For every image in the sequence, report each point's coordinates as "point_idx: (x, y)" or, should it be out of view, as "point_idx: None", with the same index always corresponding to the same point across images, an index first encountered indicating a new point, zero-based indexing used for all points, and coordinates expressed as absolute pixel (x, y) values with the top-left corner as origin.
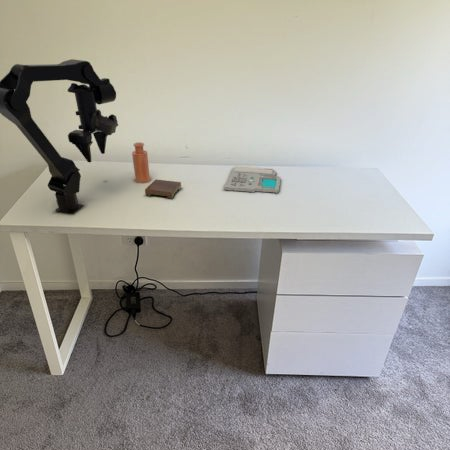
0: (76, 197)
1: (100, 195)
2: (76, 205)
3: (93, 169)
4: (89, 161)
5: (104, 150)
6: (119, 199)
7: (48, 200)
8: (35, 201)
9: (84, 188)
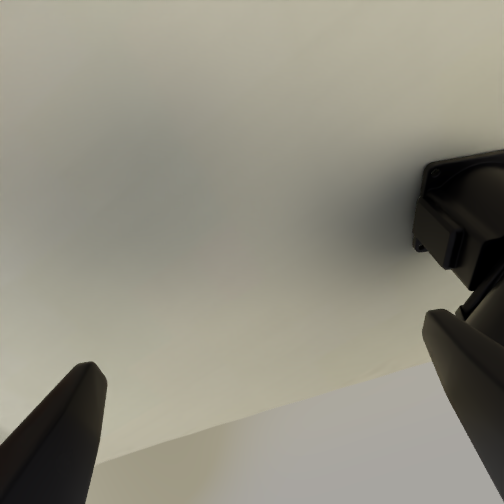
0: (454, 208)
1: (259, 173)
2: (489, 170)
3: (33, 374)
4: (451, 324)
5: (61, 394)
6: (261, 5)
7: (386, 319)
8: (404, 344)
9: (221, 289)
